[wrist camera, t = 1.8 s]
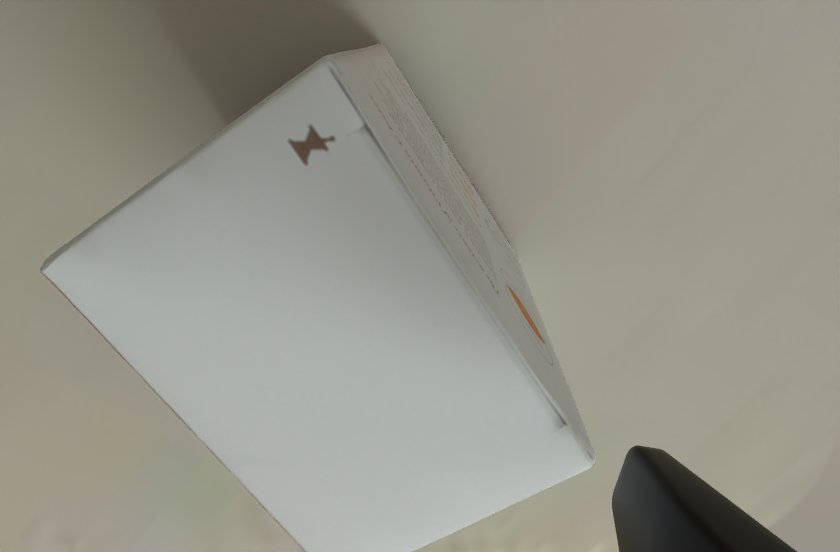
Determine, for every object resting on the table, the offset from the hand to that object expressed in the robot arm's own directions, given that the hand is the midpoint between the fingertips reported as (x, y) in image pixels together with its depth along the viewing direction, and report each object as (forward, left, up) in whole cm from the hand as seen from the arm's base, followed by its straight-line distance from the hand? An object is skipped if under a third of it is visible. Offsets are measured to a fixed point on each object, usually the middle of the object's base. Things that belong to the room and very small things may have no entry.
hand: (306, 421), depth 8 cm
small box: (0, 0, -12) cm, 12 cm away
